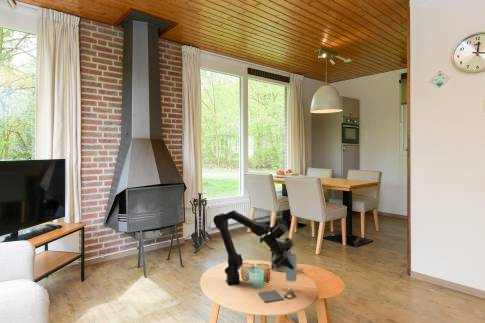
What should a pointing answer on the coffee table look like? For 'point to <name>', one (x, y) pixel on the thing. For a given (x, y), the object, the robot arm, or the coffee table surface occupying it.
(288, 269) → the slate block
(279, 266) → the coffee box
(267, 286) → the coffee table surface
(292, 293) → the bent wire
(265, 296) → the rubber mat
